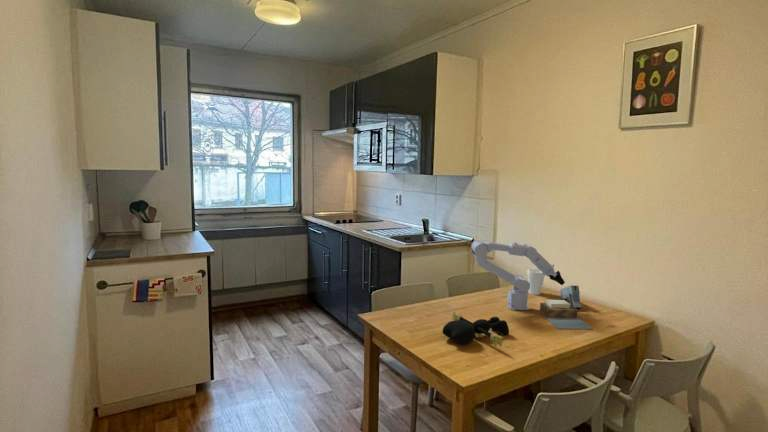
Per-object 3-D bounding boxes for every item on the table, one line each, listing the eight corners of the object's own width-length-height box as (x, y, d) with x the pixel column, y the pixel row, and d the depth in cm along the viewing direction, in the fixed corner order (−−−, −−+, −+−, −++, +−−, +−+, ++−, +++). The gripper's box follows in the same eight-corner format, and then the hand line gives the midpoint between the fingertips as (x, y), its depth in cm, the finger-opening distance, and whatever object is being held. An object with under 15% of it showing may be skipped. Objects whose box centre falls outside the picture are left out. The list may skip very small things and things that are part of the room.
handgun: (567, 311, 233) (565, 289, 236) (582, 308, 215) (579, 284, 219) (560, 311, 233) (558, 289, 236) (575, 308, 215) (572, 284, 219)
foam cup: (525, 289, 249) (527, 268, 248) (542, 291, 247) (544, 269, 245) (526, 294, 240) (528, 272, 239) (544, 296, 238) (545, 273, 236)
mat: (557, 328, 191) (557, 328, 191) (546, 318, 204) (546, 317, 204) (593, 329, 192) (593, 328, 192) (579, 318, 205) (579, 318, 205)
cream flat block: (551, 307, 207) (551, 303, 207) (546, 303, 213) (546, 299, 213) (569, 308, 207) (569, 304, 207) (564, 303, 213) (564, 300, 213)
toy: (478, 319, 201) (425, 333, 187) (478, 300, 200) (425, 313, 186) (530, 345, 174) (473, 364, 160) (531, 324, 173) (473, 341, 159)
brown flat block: (547, 317, 205) (548, 309, 204) (539, 310, 215) (540, 302, 214) (576, 318, 205) (577, 310, 205) (567, 311, 215) (568, 303, 214)
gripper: (553, 261, 208) (572, 279, 210) (541, 254, 223) (559, 272, 224) (542, 271, 209) (561, 290, 210) (532, 264, 223) (549, 281, 225)
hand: (560, 281), depth 217 cm, fingers open, 7 cm apart
